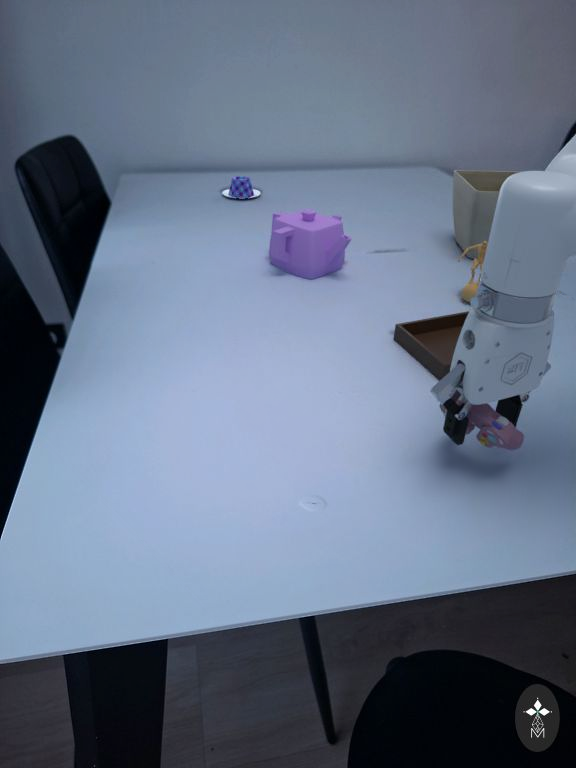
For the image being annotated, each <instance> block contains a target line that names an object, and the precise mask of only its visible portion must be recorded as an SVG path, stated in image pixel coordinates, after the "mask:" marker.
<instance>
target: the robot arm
mask: <svg viewBox="0 0 576 768" xmlns="http://www.w3.org/2000/svg"><path fill="white" fill-rule="evenodd" d="M518 172H519V173H515V174H513V175H511V176H510V177H508V178H507V179H506V180H505V181H504V183H503V184H502V187H501V189H500V193H499V196H498V201H497V205H496V210H495V214H494V219H493V223H492V228H491V232H490V236H489V241H488V245H487V250H486V254H485V259H484V263H483V268H482V272H481V271H480V273H481V277H480V276H479V277H480V282H479V286H478V291H477V295H476V296H473V297H472V298H471V300H470V303H469V304H470V307H471V308H470V309H469V313H468V316H467V318H466V320H465V322H464V325H463V327H462V330H461V333H460V336H459V338H458V341H457V345H456V348H455V351H454V355H453V359H452V363H451V367H450V372H449V373H448V374H447V375H446V376H445V377H444V378H442V379H441V380H438V382H437V383H436V384H435V385H433V386H432V387H431V389H430V393H431V394H432V396H433V397H434V399H436V400H437V402H438V403H439V405H440V404H442V405H443V406H444V407H445V408H446V409H447V413H446V418H445V417H444V418H445V419H444V423H443V428H442V430H443V433H444V434H445V435H446V436H447V437H448V438H449V439H450V440H451V441H452V442H453V443H454V444H455V445H457V446H461V445H463V444H464V442H465V437H466V435H467V434H466V430H467V426H468V422H469V419H468V418H467V417H466V415H467V413H468V412H469V411H470V409H471V408H472V406H473V405H480V404H486V403H487V404H490V403H493V402H494V403H495V402H497V404H496V406H495V409H494V410H495V411H496V412H497V413H498V414H500V415H501V416H503V417H505V418H506V419H507V420H508V421H510V422H511V423H512V424H513V425H514V426H515V428H516V429H517V424H518V421H519V418H520V415H521V412H522V408H523V407H524V406H523V405H524V404H525V403H526V402H527V401H529V399H530V393H531V392H532V391H534V390H536V389H537V388H538V387H539V386H540V384H541V382H542V379H543V378H544V376H545V375H546V374H547V373H548V372H549V371H550V369H551V368H552V366H551V365H552V364H550V363H549V362H548V360H549V355H550V352H551V347H552V342H553V337H554V336H553V335H554V330H555V329H554V328H555V312H554V309H553V306H554V303H555V300H556V297H557V294H558V290H559V287H560V285H561V281H562V277H563V274H564V272H565V269H566V265H567V262H568V260H569V259H568V258H570V257H573V256H576V133H575V134H574V135H573V137H571V138H570V140H569V141H568V142H567V143H566V144H565V146H563V147H562V149H561V150H560V151H559V152H558V153H557V154H556V155H555V156H554V158H553V159H552V160H551V162H550V163H549V164H548V166H547V167H546V168H545V169H544V170H525V171H524V170H523V171H518ZM461 394H462V395H463V396H464V397H465V400H464V401H463V403H462V404H461V406H459V405H458V404H456V402H457V400H458V399H459V397H460V396H461ZM523 403H524V404H523Z"/></svg>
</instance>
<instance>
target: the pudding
mask: <svg viewBox="0 0 576 768" xmlns="http://www.w3.org/2000/svg"><path fill="white" fill-rule="evenodd" d="M221 194H222V195H223V196H225V197H228V198H230V199H231V198H232V199H236V198H239V200H246V199H245V198H248V199H252V198H256V197H259V196H260V195H261V191H259V190H257V189H256V188H255V189H254V187H253V183H252V179H251V178H250V176H249V177H248V176H246V175H245V176H243V175H237V176H233V177H231V180H230V184H229V189H225V190H223V191H222V193H221Z"/></svg>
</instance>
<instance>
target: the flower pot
mask: <svg viewBox="0 0 576 768" xmlns="http://www.w3.org/2000/svg"><path fill="white" fill-rule="evenodd" d="M519 172H520V171H511V170H510V171H507V170H478V169H477V170H476V169H475V170H474V169H454V170H453V178H452V179H453V180H452V216H453V229H454V236H455V242H456V243H457V245H458V246H459V247H460V248H461V251H463V253H464V252H465V251H466V249H467V248H468V247H471V246H475V245H477V244H482V243H483V242H484V241H487V242H488V241H489V236H490V232H491V228H492V223H493V219H494V214H495V210H496V205H497V201H498V196H499V193H500V189H501V187H502V184H503V183H504V181H505V180H506V179H507V178H508V177H510V176H511V175H513V174H515V173H519ZM465 256H466V257H467V258H468V259H471V260H474V259H475V258H477V260H478V249H472V250H468V252H467V253H466V254H465Z"/></svg>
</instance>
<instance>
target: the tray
mask: <svg viewBox="0 0 576 768" xmlns="http://www.w3.org/2000/svg"><path fill="white" fill-rule="evenodd" d="M469 311H470V310H469ZM469 311H468V310H467V311H462V312H457V313H451V314H445V315H439V316H434V317H428V318H422V319H417V320H411V321H405V322H399V323H396V324H395V327H394V333H393V341H395V342H396V343H397V344H398V345H399V346H400V347H401V348H402V349H404V351H406V352H407V353H408V354H409V355H411V357H412V358H414V359H415V360H416V361H417V362H418V363H419V364H420V365H421V366H423V367H424V368H425V369H426V370H427V371H428V372H430V373H431V375H432V376H434V377H435V378H436V379H437V380H438V381H440V380H441V379H442V378H444V377H445V376H446V375H447V374H448V373H449V372H450V367H451V363H452V359H453V355H454V351H455V348H456V345H457V341H458V338H459V336H460V333H461V330H462V327H463V325H464V322H465V320H466V318H467V316H468V313H469Z"/></svg>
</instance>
